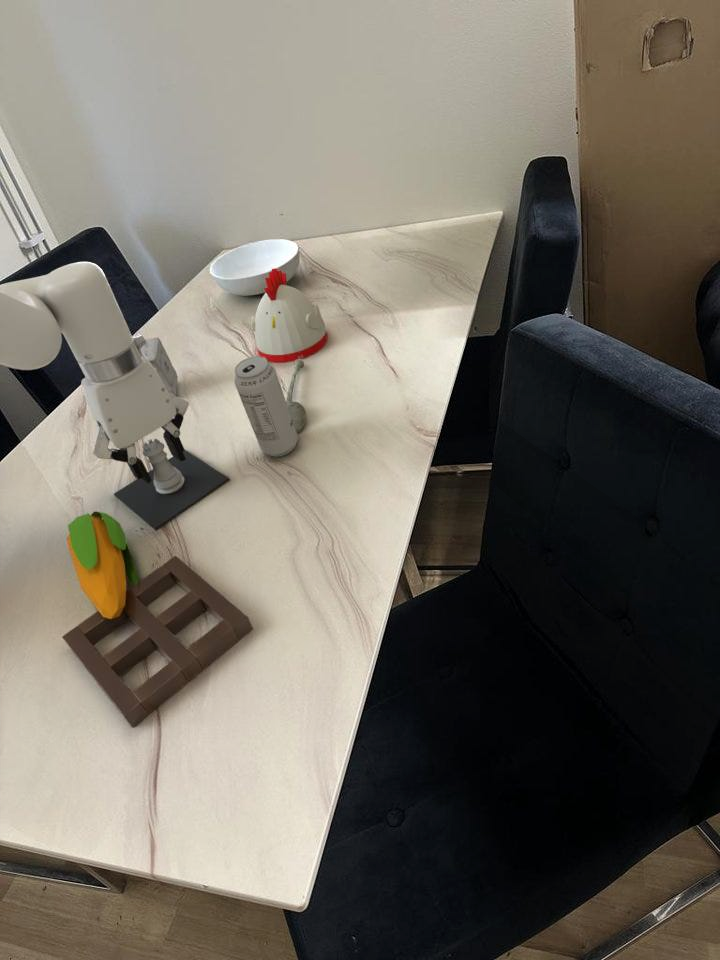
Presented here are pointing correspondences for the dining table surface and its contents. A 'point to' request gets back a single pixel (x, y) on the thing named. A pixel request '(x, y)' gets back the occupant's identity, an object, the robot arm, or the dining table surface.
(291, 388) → the soupspoon
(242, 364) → the energy drink can
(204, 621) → the dining table surface
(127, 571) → the corn
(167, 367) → the grey block
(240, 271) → the serving bowl
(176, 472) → the rook chess piece
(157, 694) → the window frame
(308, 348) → the kitchen timer
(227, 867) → the dining table surface
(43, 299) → the robot arm
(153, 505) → the coaster
